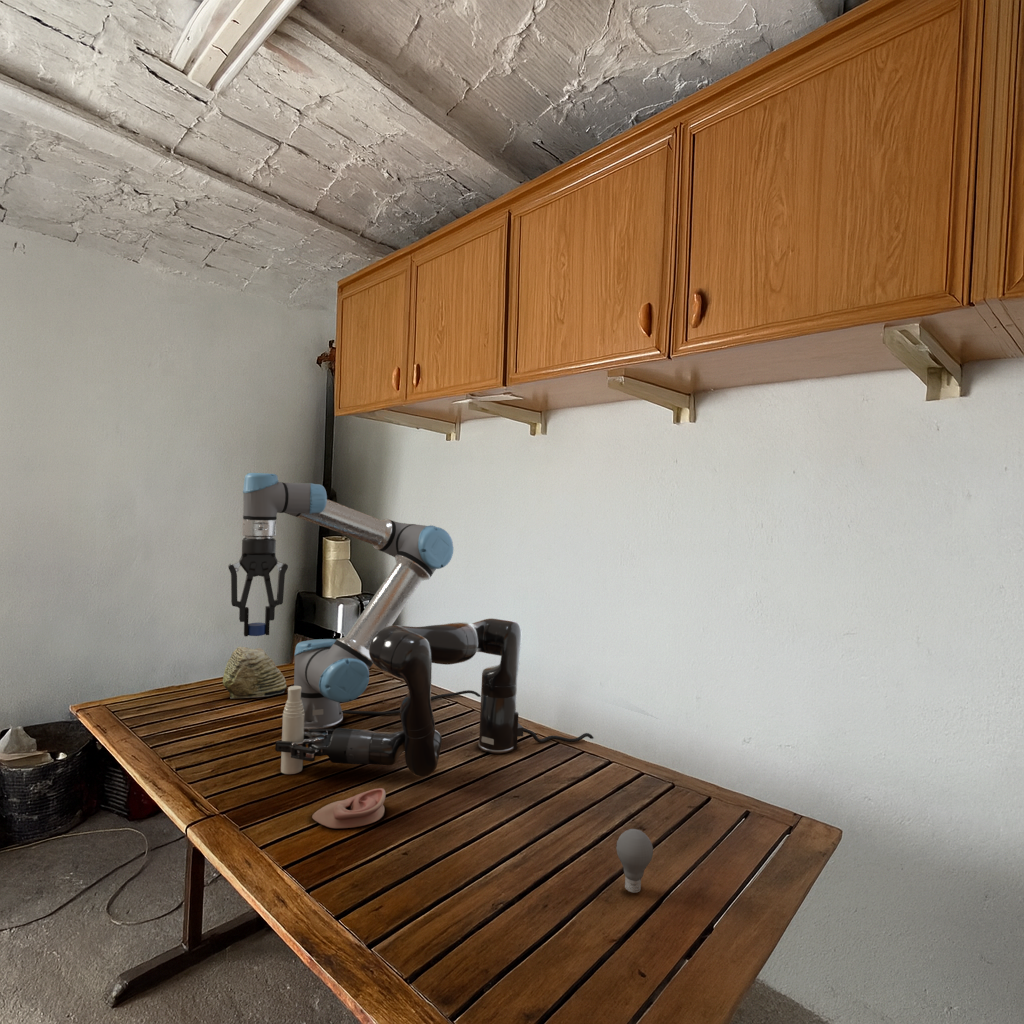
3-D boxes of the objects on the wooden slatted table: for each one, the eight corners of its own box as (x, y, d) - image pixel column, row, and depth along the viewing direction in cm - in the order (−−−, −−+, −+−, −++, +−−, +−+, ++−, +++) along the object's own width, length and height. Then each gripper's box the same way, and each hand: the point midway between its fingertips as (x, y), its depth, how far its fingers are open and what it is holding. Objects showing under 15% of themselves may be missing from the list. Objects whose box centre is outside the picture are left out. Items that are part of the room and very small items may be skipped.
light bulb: (610, 879, 108) (613, 822, 108) (644, 879, 109) (647, 822, 109) (619, 902, 102) (622, 840, 102) (655, 901, 103) (658, 840, 103)
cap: (252, 631, 154) (253, 622, 154) (268, 632, 154) (269, 623, 154) (244, 635, 150) (244, 625, 150) (260, 636, 150) (260, 626, 150)
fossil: (218, 695, 195) (220, 647, 195) (278, 685, 208) (279, 640, 207) (228, 703, 189) (230, 653, 188) (289, 692, 201) (290, 645, 201)
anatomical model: (304, 803, 122) (333, 778, 133) (303, 824, 122) (332, 797, 133) (368, 813, 119) (392, 787, 131) (368, 834, 119) (391, 806, 131)
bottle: (306, 770, 146) (309, 688, 146) (286, 776, 143) (289, 691, 142) (296, 763, 149) (299, 683, 149) (276, 769, 146) (280, 686, 146)
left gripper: (220, 538, 144) (217, 640, 145) (298, 538, 152) (295, 635, 153) (219, 536, 151) (216, 633, 152) (294, 536, 159) (291, 629, 159)
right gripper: (363, 719, 152) (294, 715, 153) (344, 742, 138) (267, 736, 139) (362, 750, 152) (293, 745, 153) (342, 776, 138) (266, 770, 139)
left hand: (256, 634), depth 152 cm, fingers closed on cap, 4 cm apart
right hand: (281, 741), depth 146 cm, fingers closed on bottle, 5 cm apart
